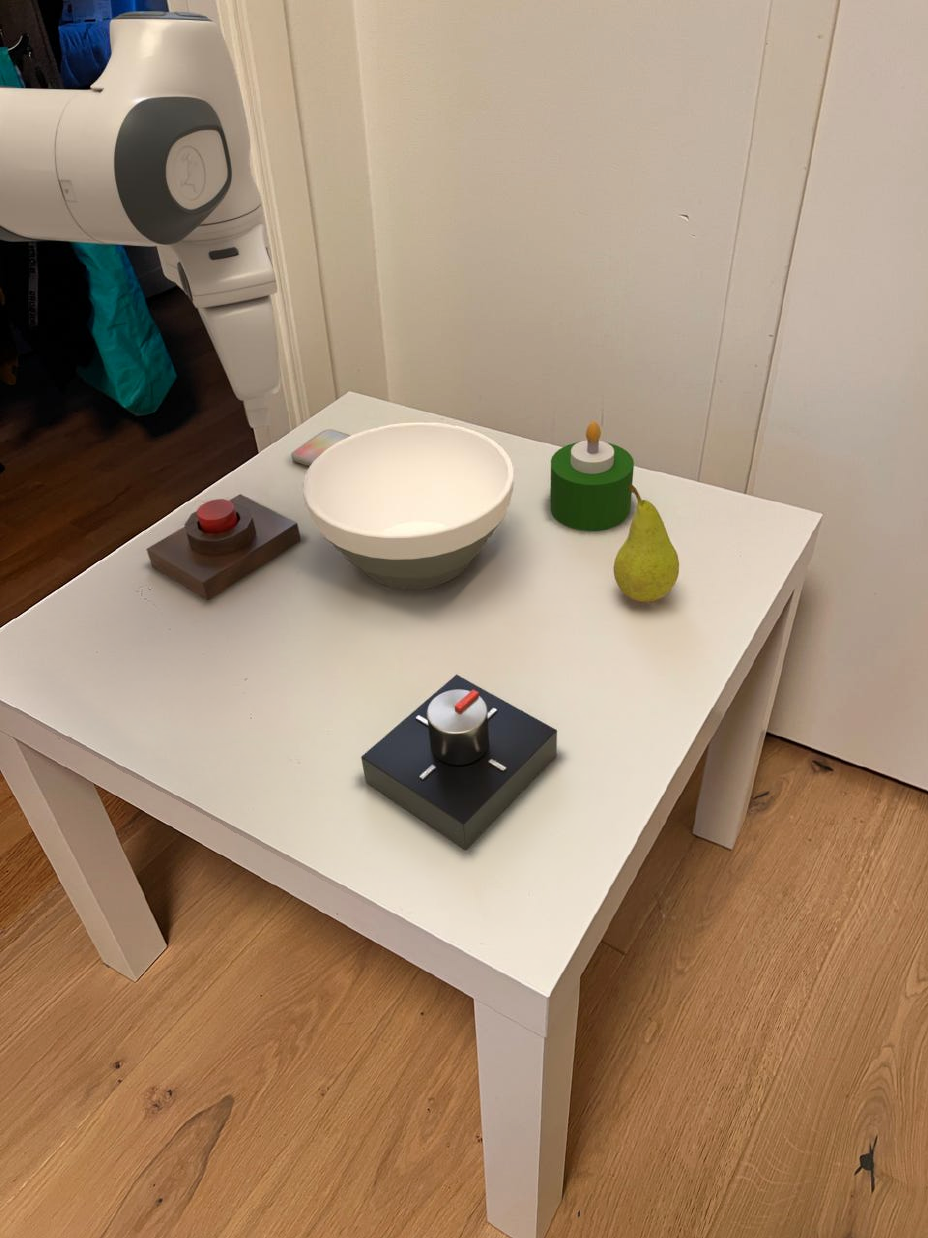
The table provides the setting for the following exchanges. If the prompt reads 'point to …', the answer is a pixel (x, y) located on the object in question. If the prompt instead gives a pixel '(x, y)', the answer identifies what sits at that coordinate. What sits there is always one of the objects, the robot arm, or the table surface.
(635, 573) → the fruit
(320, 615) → the table surface
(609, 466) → the candle
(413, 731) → the dimmer panel
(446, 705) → the dimmer knob
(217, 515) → the light button
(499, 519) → the bowl
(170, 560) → the lamp switch
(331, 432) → the smartphone
